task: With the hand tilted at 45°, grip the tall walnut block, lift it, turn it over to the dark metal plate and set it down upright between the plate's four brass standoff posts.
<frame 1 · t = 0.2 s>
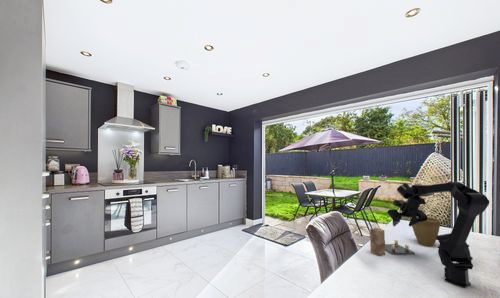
hand: (401, 225, 122), 15 cm above the table, tool tilted 35°, fingers open, 9 cm apart
standoff plate: (395, 250, 124), on the table
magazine: (453, 260, 112), on the table
plant pot: (425, 244, 135), on the table
walnut block: (377, 253, 118), on the table
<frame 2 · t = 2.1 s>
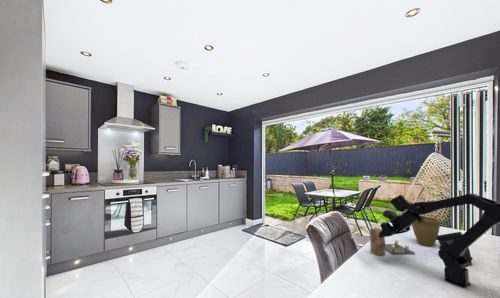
hand: (383, 235, 116), 11 cm above the table, tool tilted 45°, fingers open, 9 cm apart
nothing on the table moved.
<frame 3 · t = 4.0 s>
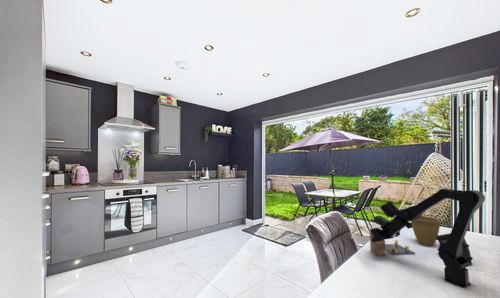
hand: (374, 240, 120), 7 cm above the table, tool tilted 45°, fingers closed on walnut block, 5 cm apart
walnut block: (377, 253, 118), on the table, touching gripper
everything else where it was.
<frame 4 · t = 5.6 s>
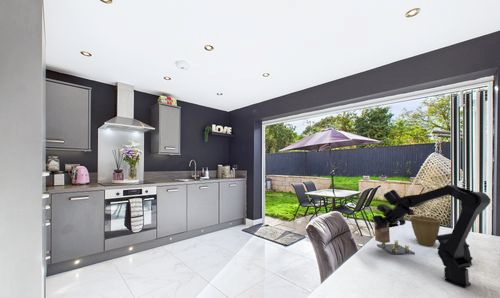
hand: (379, 228, 123), 13 cm above the table, tool tilted 45°, fingers closed on walnut block, 5 cm apart
walnut block: (382, 241, 122), point 6 cm above the table, touching gripper
everything else where it was.
when the fingers open (8 cm above the table, at t = 7.6 s): walnut block stays where it is, resting on standoff plate.
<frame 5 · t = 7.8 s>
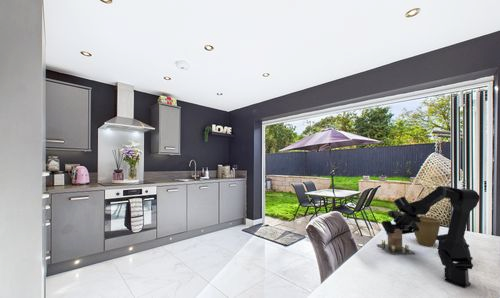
hand: (392, 234, 127), 9 cm above the table, tool tilted 45°, fingers open, 7 cm apart
walnut block: (394, 248, 124), point 1 cm above the table, touching standoff plate
everything else where it was.
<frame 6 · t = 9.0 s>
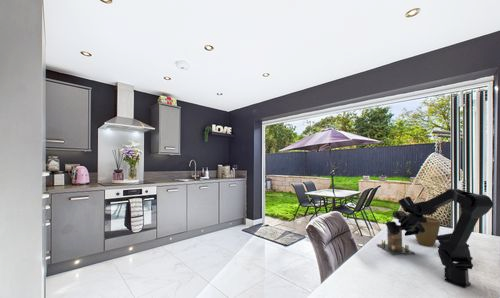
hand: (397, 235, 123), 9 cm above the table, tool tilted 45°, fingers open, 9 cm apart
nothing on the table moved.
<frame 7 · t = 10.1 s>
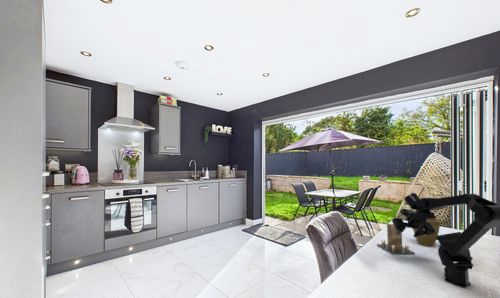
hand: (405, 235, 117), 11 cm above the table, tool tilted 40°, fingers open, 9 cm apart
nothing on the table moved.
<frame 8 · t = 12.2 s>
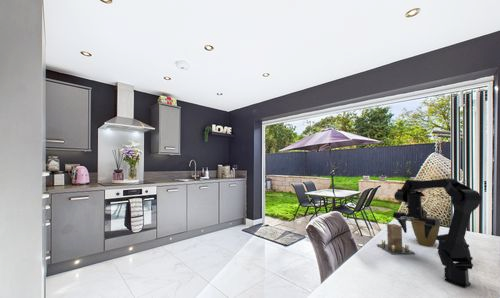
hand: (415, 235, 110), 13 cm above the table, tool pointing down, fingers open, 9 cm apart
nothing on the table moved.
at the end: walnut block 0.1 cm off-centre on the standoff plate, point 1.0 cm above the standoff plate's base; walnut block tilted 0°; the gripper is holding nothing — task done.
